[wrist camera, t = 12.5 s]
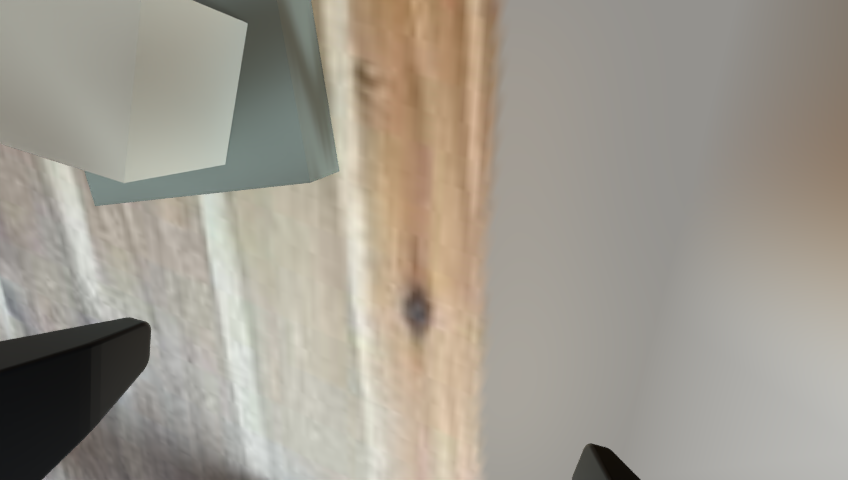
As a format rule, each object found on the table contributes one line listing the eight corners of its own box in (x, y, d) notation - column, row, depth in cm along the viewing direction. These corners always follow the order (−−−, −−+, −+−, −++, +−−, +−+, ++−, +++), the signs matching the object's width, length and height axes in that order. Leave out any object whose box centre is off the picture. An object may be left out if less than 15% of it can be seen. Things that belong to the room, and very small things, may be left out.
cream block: (247, 23, 15) (143, -21, 11) (225, 164, 17) (124, 183, 12) (111, -18, 15) (-53, -79, 11) (100, 125, 17) (-49, 128, 12)
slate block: (341, 170, 20) (310, 182, 17) (162, 190, 22) (95, 206, 18) (304, -53, 18) (258, -98, 14) (107, -16, 19) (16, -48, 16)
